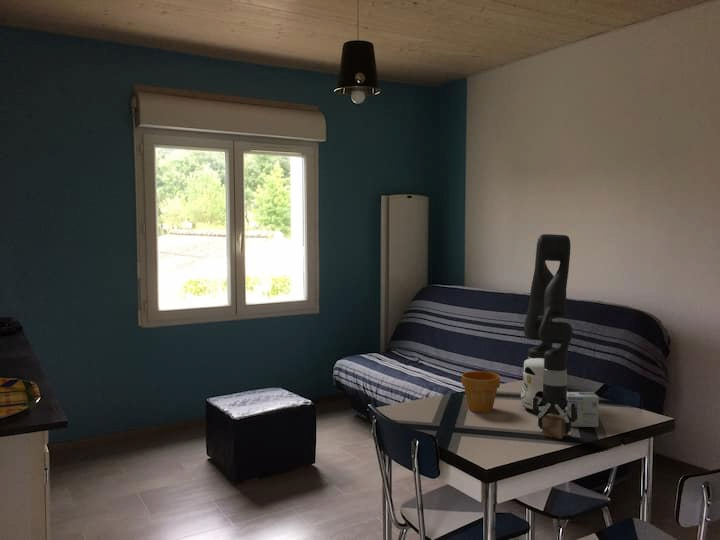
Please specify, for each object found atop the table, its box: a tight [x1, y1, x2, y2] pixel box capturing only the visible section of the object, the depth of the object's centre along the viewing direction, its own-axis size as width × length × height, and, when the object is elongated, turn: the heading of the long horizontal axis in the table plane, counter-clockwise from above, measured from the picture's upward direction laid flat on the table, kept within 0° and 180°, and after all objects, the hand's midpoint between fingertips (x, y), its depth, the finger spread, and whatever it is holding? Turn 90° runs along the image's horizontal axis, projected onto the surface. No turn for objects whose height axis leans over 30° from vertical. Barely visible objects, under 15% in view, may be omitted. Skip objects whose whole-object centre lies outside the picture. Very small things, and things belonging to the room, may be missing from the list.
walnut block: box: [541, 413, 567, 440], centre depth 202 cm, size 6×6×6 cm
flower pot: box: [461, 370, 501, 413], centre depth 231 cm, size 14×14×13 cm
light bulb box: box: [566, 391, 599, 428], centre depth 213 cm, size 11×7×11 cm, turn 84°
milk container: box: [520, 358, 569, 414], centre depth 230 cm, size 17×17×18 cm
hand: (554, 430), depth 202 cm, fingers open, 8 cm apart
